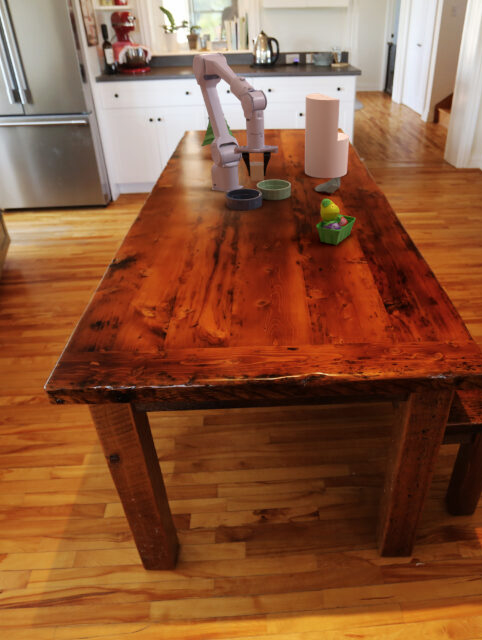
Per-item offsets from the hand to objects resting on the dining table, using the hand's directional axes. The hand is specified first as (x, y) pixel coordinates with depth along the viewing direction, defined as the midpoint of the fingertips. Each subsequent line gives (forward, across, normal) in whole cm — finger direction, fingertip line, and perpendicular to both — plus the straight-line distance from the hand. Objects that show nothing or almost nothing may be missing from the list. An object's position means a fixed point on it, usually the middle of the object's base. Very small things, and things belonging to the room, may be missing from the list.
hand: (257, 175), depth 166 cm
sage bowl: (+9, +6, +5) cm, 12 cm away
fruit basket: (+9, +22, -34) cm, 42 cm away
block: (+1, 0, 0) cm, 1 cm away
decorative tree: (+9, -17, +60) cm, 63 cm away
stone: (+9, +25, +8) cm, 28 cm away
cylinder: (+9, +28, +33) cm, 45 cm away
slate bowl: (+9, -5, -4) cm, 11 cm away
